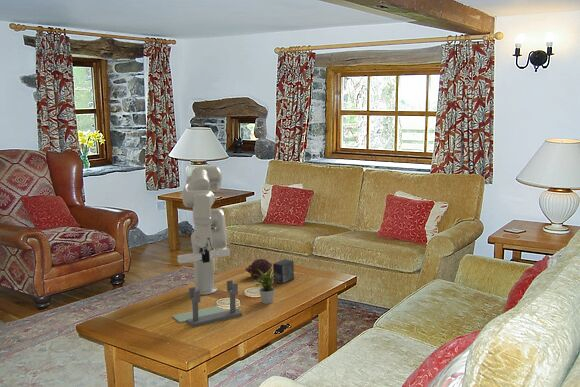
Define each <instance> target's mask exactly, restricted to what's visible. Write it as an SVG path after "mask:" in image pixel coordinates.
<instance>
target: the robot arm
mask: <svg viewBox="0 0 580 387" xmlns="http://www.w3.org/2000/svg"><path fill="white" fill-rule="evenodd" d="M222 176H223V175H222V171H221V169H220V167H218V166H213V165H212V166H197V167H195V168H194V169H192V171H191V175H188V177H186V179H185V181H186V183H185V184H184V187H183V190H182V203H183V205H184V206H185V207H186V208H192V219H193V220H192V222H193V225H194V231H192V232H191V235H190V241H191V246H192V253H196V252H202V251H203V254H202V258H203V260H199V261H193V273H194V274H193V276H194V287H195V291H197V290H199V291H200V296H201V295H202V296H203V295H204V296H205V295H212V294H214V293H216V292H217V291H218V288H217V286H215V283H214V278H215V277H214V258H211V259H210V255H209V254H210V250H212V249H221V248H226V245H227V225H226V224H227V223H226V216H225V212H224V211H223V210H222V209H221V208H212V206H213V204H214V203H215V200H216V199H215V198H216V197H215V194H214V193H213V191H220V189H221V187H222V179H223V177H222Z"/></svg>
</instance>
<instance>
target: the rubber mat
mask: <svg viewBox="0 0 580 387" xmlns="http://www.w3.org/2000/svg"><path fill="white" fill-rule="evenodd" d="M218 306H219V305H215V306H210V307H207V308H201V309H198V317H201V316H205V315H210V314H215V313H219V312H224V311H228V310H230V309H223V308H219V307H218ZM236 309H237V310H239V311H240V308H239V307H238V306H236ZM171 316H172V318H174V319H175V320H176V321H177V322H178V323H179V324H182V323H187V319H192V318H193V310H191V311H187V312H182V313H179V314H173V315H171Z"/></svg>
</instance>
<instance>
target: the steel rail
mask: <svg viewBox="0 0 580 387" xmlns="http://www.w3.org/2000/svg"><path fill="white" fill-rule="evenodd" d="M202 254H203V251H202V252H196V253H193V252H190V253H185V254H179V255H177V263H178V264H180V265H181V264H186V263H194V261H199V260H203V258H202ZM209 255H210V259H211V258H213V259H216V258H222V257H227V256H231V249H230V248H229V247H222V248H214V249H211V250H210V254H209Z"/></svg>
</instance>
